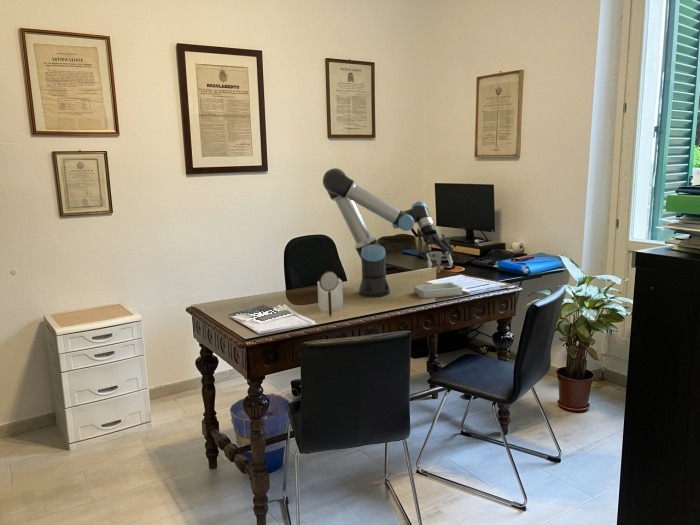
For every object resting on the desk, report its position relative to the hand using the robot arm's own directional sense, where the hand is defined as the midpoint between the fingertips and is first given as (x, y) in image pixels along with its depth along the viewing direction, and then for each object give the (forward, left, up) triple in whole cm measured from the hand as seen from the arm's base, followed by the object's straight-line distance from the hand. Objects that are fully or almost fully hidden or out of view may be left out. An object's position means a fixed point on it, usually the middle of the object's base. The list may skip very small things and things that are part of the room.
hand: (441, 265), depth 264 cm
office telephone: (-86, 0, -15) cm, 88 cm away
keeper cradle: (0, +3, -15) cm, 15 cm away
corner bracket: (-54, 0, -15) cm, 56 cm away
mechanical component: (0, +3, -4) cm, 5 cm away
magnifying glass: (-58, -15, -15) cm, 62 cm away
